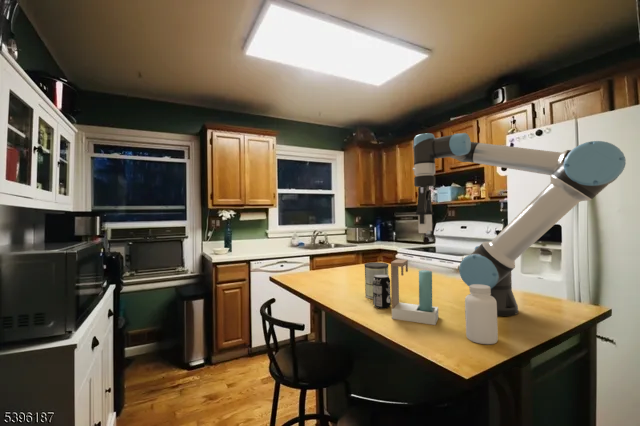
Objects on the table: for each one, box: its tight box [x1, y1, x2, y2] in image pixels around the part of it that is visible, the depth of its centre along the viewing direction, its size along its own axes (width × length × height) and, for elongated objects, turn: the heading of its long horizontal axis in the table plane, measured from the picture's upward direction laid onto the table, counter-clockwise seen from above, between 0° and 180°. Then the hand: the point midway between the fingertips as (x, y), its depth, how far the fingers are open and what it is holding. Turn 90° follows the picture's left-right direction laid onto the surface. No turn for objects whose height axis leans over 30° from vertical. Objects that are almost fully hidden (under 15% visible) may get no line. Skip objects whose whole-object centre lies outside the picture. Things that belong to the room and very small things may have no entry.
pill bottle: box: [464, 284, 499, 345], centre depth 86 cm, size 8×8×15 cm
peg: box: [418, 269, 433, 312], centre depth 102 cm, size 4×4×16 cm
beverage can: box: [372, 274, 392, 310], centre depth 117 cm, size 7×7×12 cm
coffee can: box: [364, 261, 389, 300], centre depth 132 cm, size 10×10×14 cm
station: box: [390, 258, 439, 326], centre depth 104 cm, size 14×8×19 cm, turn 62°
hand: (425, 232), depth 114 cm, fingers open, 13 cm apart
